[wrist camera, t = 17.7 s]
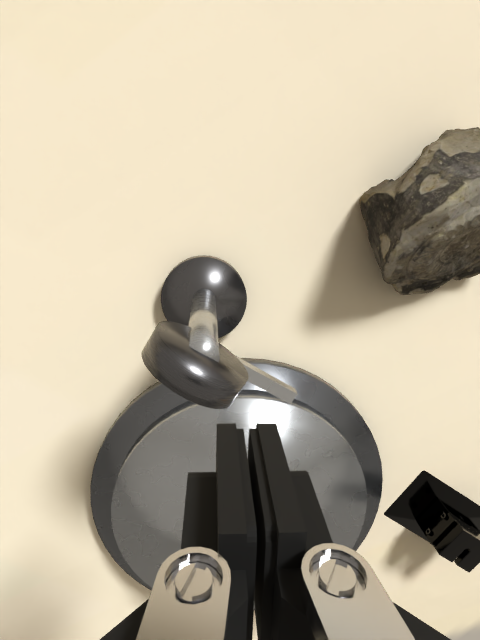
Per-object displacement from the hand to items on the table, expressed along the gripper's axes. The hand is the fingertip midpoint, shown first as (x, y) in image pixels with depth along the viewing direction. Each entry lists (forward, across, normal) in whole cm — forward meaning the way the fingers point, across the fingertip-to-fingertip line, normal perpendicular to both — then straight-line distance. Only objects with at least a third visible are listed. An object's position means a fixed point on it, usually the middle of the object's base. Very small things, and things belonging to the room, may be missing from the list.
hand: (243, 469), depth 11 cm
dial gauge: (+19, 0, 0) cm, 19 cm away
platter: (+18, -2, +16) cm, 24 cm away
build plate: (+20, -20, +20) cm, 35 cm away
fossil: (+20, -14, -6) cm, 25 cm away
